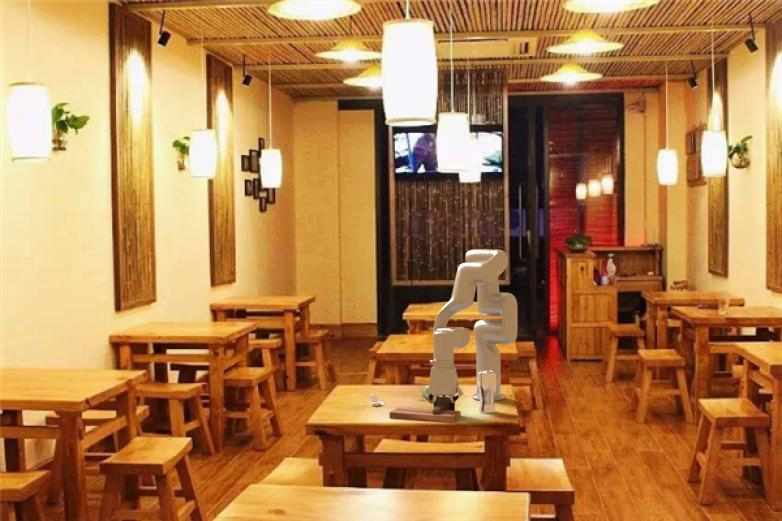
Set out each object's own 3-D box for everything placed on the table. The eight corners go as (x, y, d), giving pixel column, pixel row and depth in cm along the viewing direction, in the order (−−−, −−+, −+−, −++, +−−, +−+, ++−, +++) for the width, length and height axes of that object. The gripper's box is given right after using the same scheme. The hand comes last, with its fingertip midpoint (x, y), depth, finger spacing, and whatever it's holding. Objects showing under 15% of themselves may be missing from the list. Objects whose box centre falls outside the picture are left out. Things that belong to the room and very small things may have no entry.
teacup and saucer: (381, 407, 375) (381, 397, 375) (361, 407, 376) (361, 396, 376) (386, 403, 383) (385, 393, 383) (366, 402, 385) (366, 392, 385)
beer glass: (478, 413, 360) (477, 373, 359) (477, 409, 367) (477, 370, 366) (497, 413, 360) (496, 373, 359) (496, 409, 366) (495, 370, 366)
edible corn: (432, 394, 398) (432, 383, 398) (440, 404, 379) (440, 392, 378) (420, 395, 398) (419, 384, 398) (427, 405, 378) (427, 393, 378)
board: (399, 412, 364) (399, 407, 364) (460, 416, 355) (460, 411, 355) (389, 417, 355) (389, 412, 355) (452, 422, 346) (452, 416, 346)
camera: (439, 412, 362) (438, 393, 362) (452, 413, 361) (451, 394, 360) (428, 420, 351) (428, 401, 351) (442, 421, 349) (441, 402, 349)
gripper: (418, 364, 359) (419, 413, 360) (462, 366, 352) (463, 416, 354) (425, 361, 366) (425, 409, 367) (468, 363, 359) (469, 411, 361)
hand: (444, 412), depth 360 cm, fingers closed on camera, 5 cm apart
